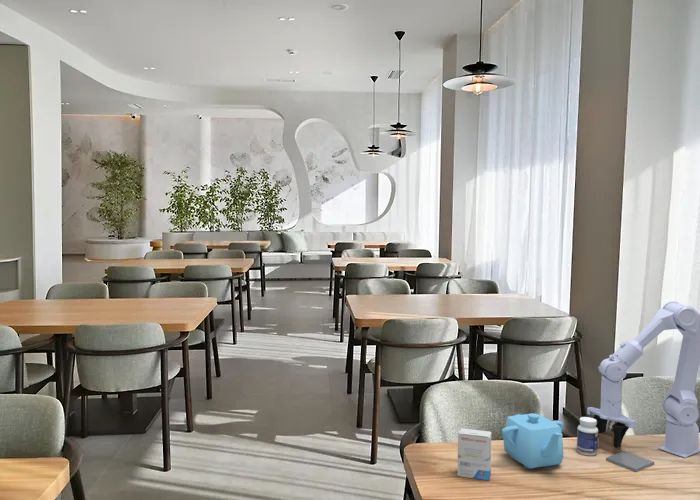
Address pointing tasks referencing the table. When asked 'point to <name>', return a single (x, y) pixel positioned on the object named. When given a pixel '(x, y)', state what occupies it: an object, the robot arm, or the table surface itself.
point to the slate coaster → (630, 461)
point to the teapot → (533, 440)
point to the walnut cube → (607, 442)
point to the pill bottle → (587, 436)
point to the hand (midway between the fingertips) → (609, 444)
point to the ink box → (474, 454)
